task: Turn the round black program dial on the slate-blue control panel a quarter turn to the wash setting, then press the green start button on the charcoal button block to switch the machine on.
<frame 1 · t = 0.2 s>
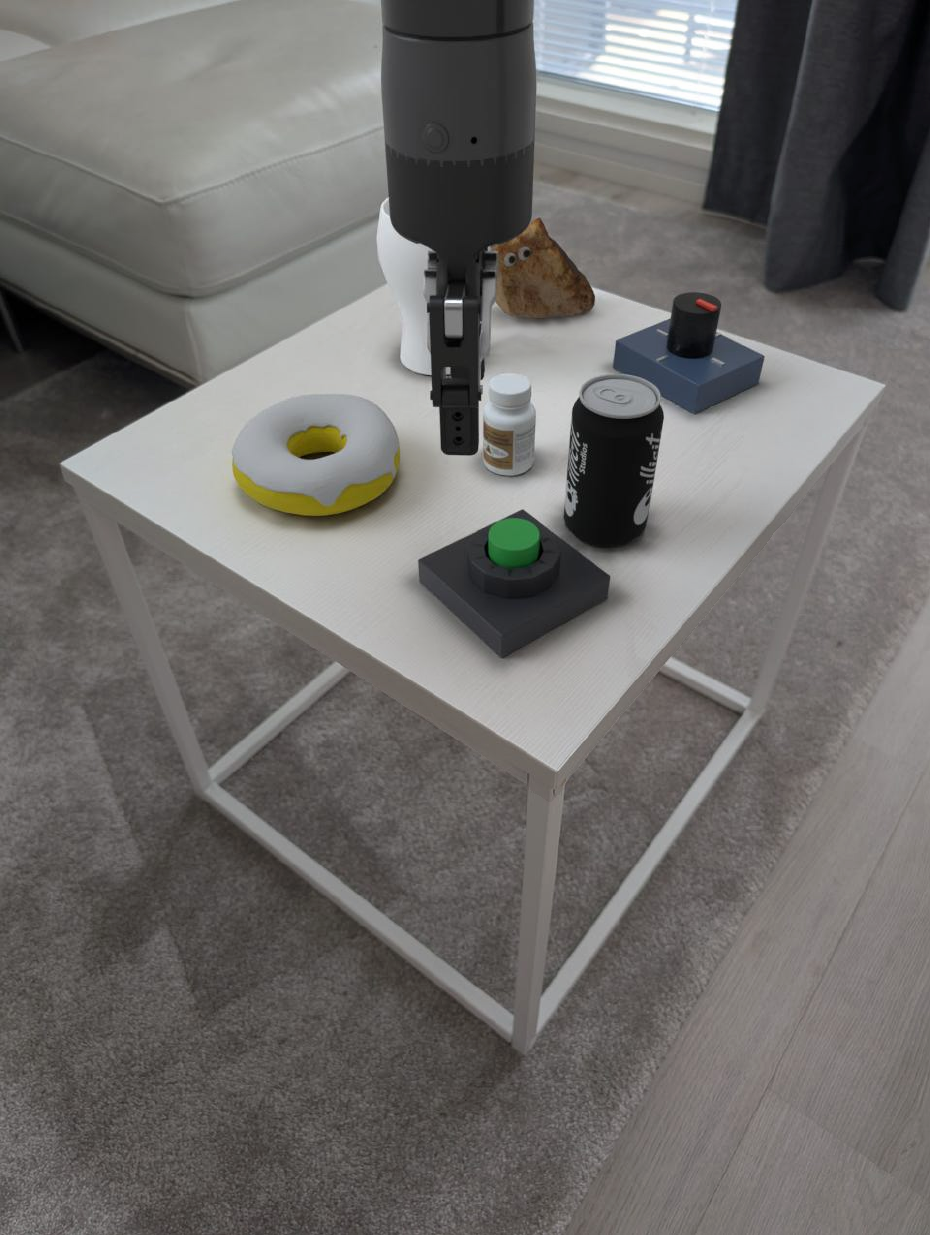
hand: (464, 413, 56), 15 cm above the table, tool pointing down, fingers open, 8 cm apart
control panel: (684, 375, 89), on the table
pill bottle: (508, 464, 79), on the table
donut: (323, 479, 78), on the table
button block: (512, 589, 67), on the table
cup: (438, 359, 93), on the table
decorative rock: (537, 316, 99), on the table
start button: (513, 543, 64), point 4 cm above the table, slide at 0.1 cm
beverage can: (603, 528, 73), on the table
program dial: (693, 323, 86), point 5 cm above the table, hinge at 0.0°
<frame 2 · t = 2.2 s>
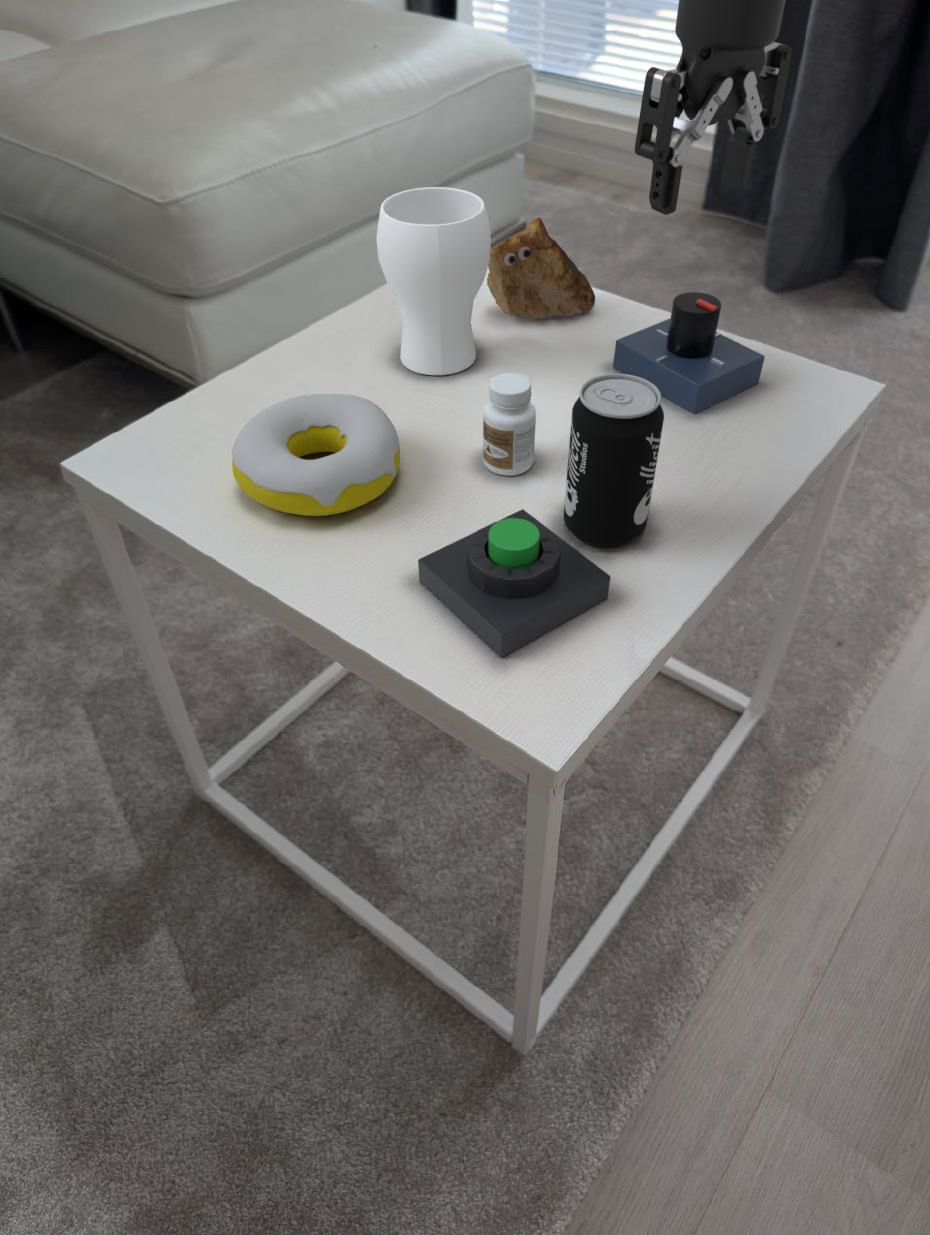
hand: (698, 199, 76), 18 cm above the table, tool pointing down, fingers open, 8 cm apart
nothing on the table moved.
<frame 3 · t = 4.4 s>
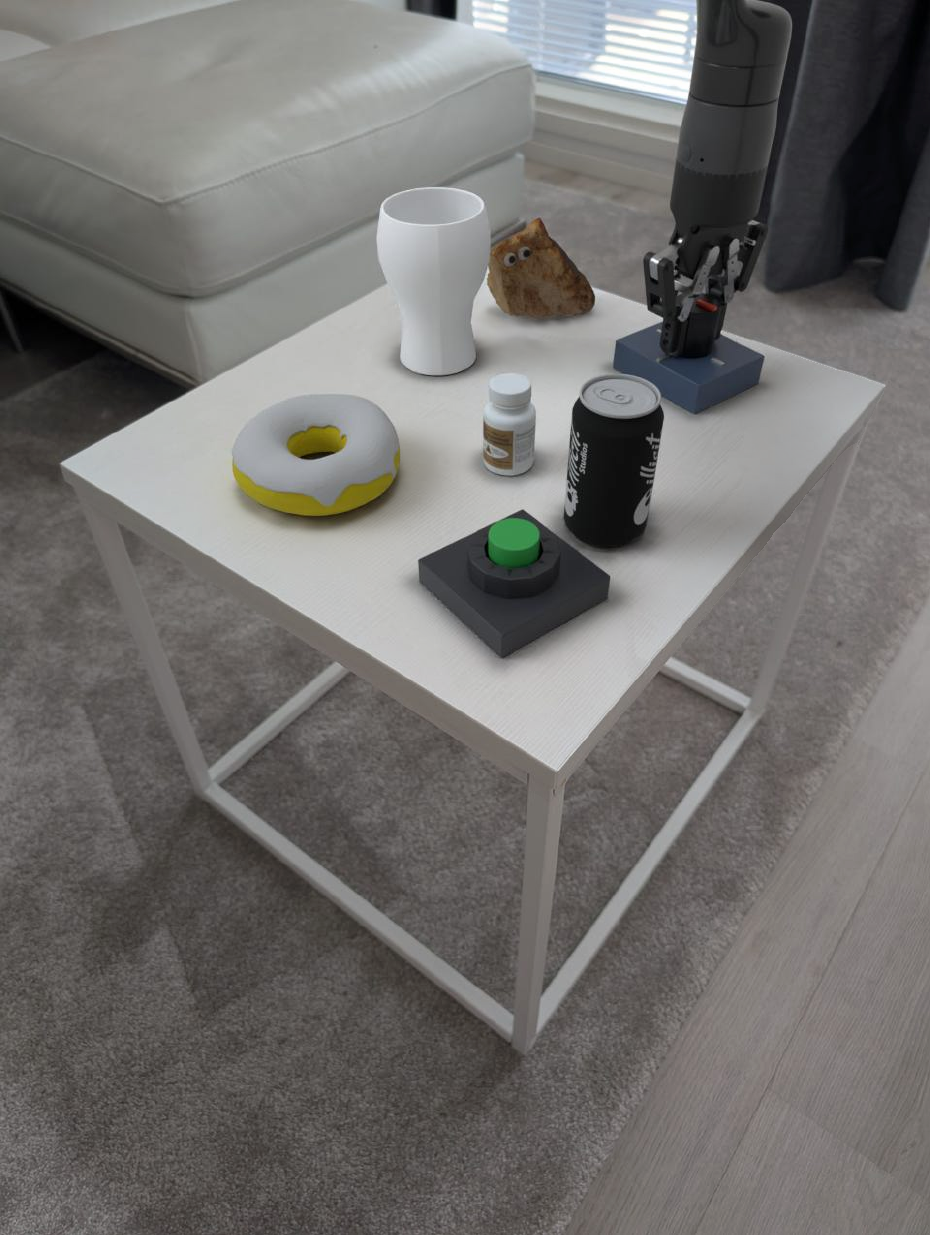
hand: (690, 344, 87), 3 cm above the table, tool pointing down, fingers closed on program dial, 4 cm apart
program dial: (693, 323, 86), point 5 cm above the table, hinge at 0.1°, touching gripper
everything else where it was.
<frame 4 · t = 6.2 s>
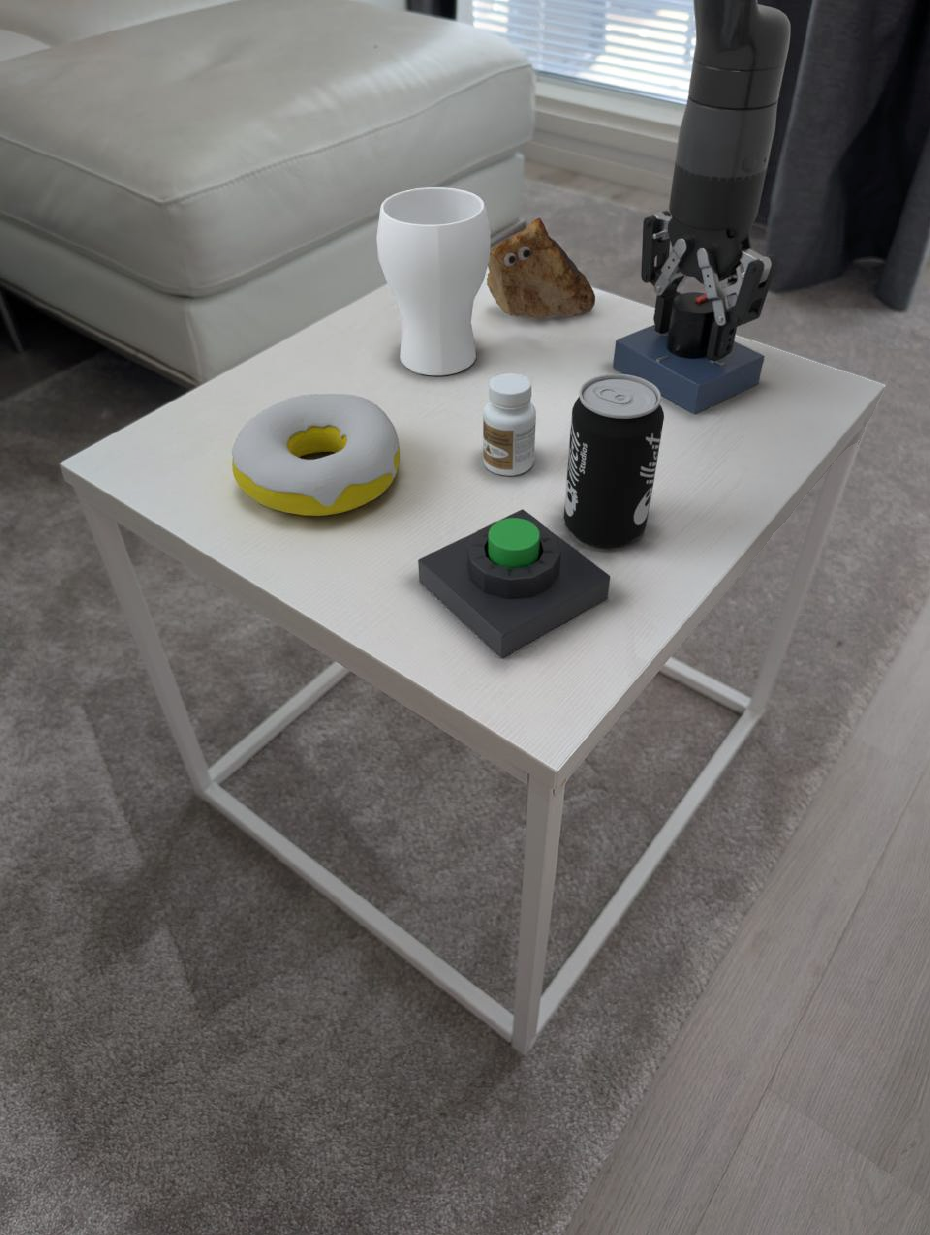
hand: (689, 343, 87), 3 cm above the table, tool pointing down, fingers open, 6 cm apart
program dial: (693, 323, 86), point 5 cm above the table, hinge at 93.8°
everything else where it was.
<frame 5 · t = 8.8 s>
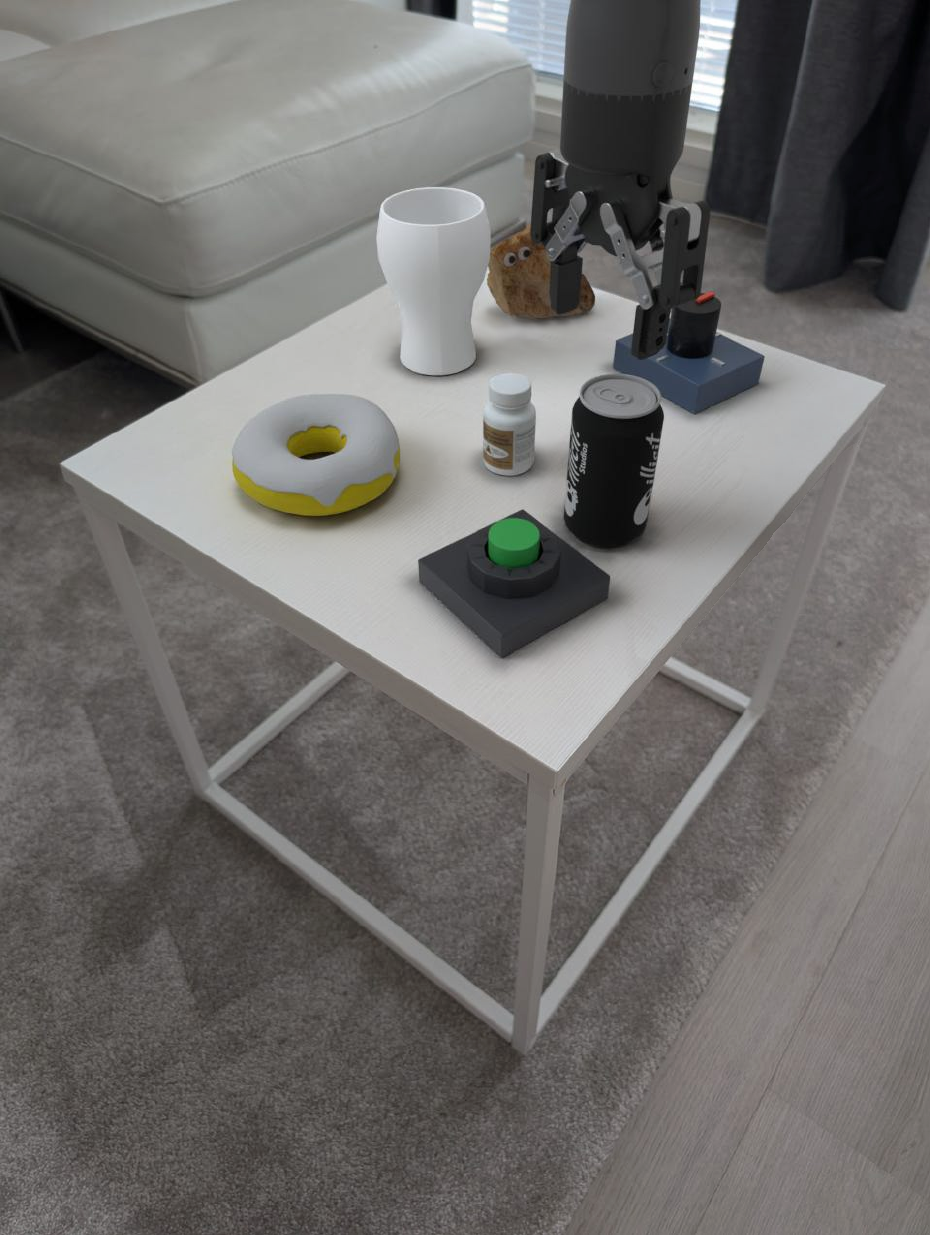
hand: (603, 331, 64), 15 cm above the table, tool pointing down, fingers open, 8 cm apart
nothing on the table moved.
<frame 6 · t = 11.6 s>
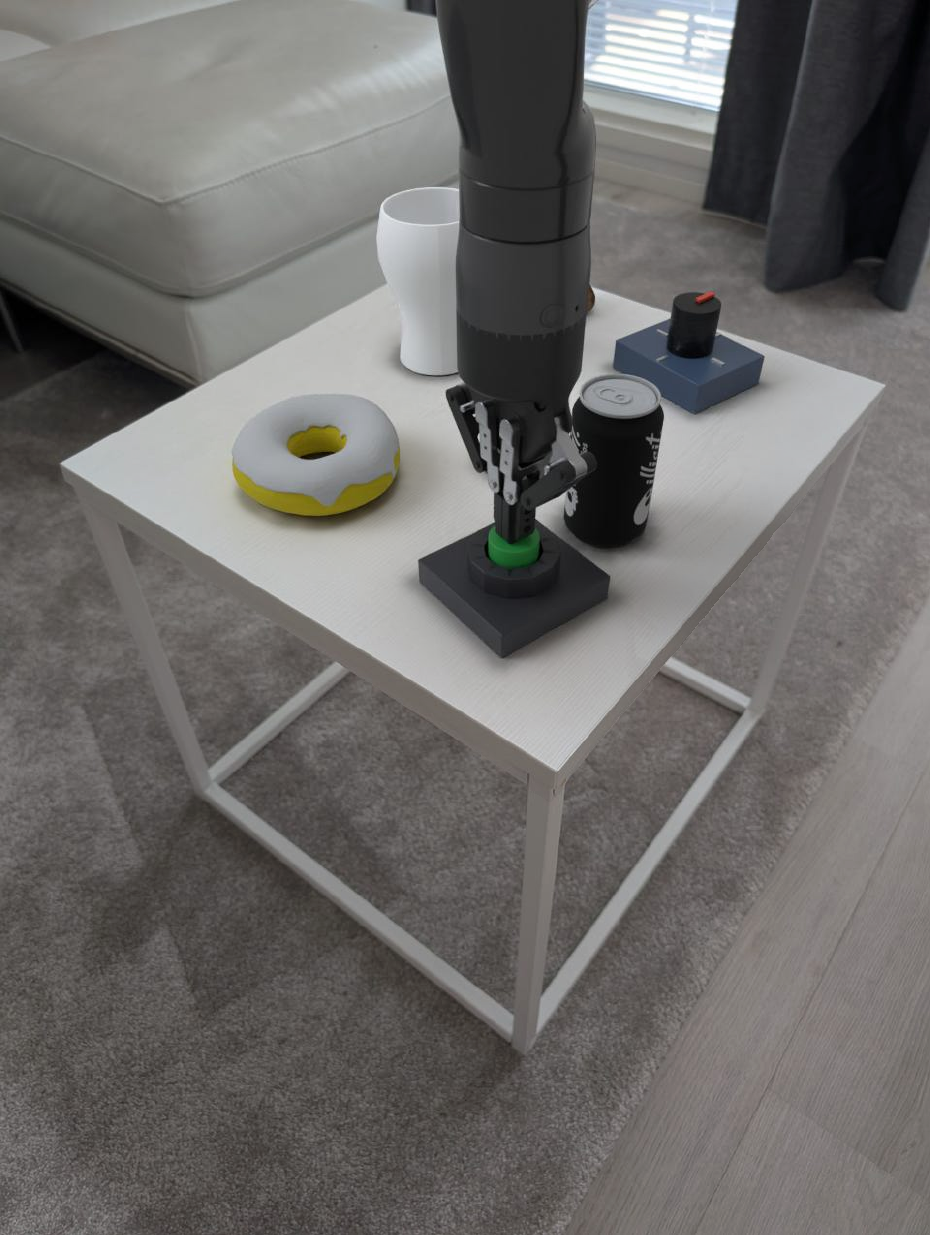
hand: (513, 534, 64), 5 cm above the table, tool pointing down, fingers closed
start button: (513, 545, 64), point 4 cm above the table, slide at -0.1 cm, touching gripper
everything else where it was.
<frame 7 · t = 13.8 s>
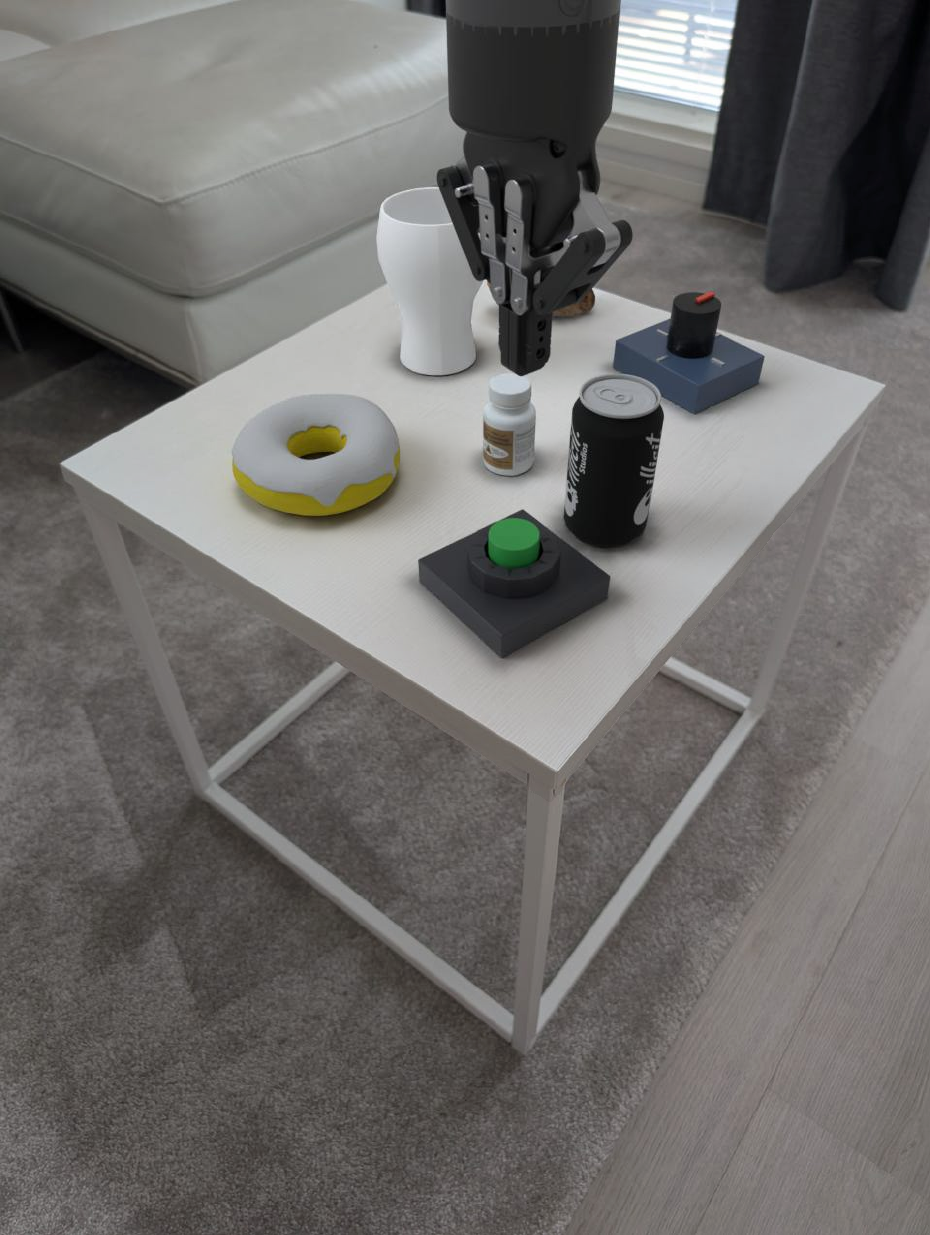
hand: (523, 366, 51), 20 cm above the table, tool pointing down, fingers closed
start button: (513, 543, 64), point 4 cm above the table, slide at 0.1 cm
everything else where it was.
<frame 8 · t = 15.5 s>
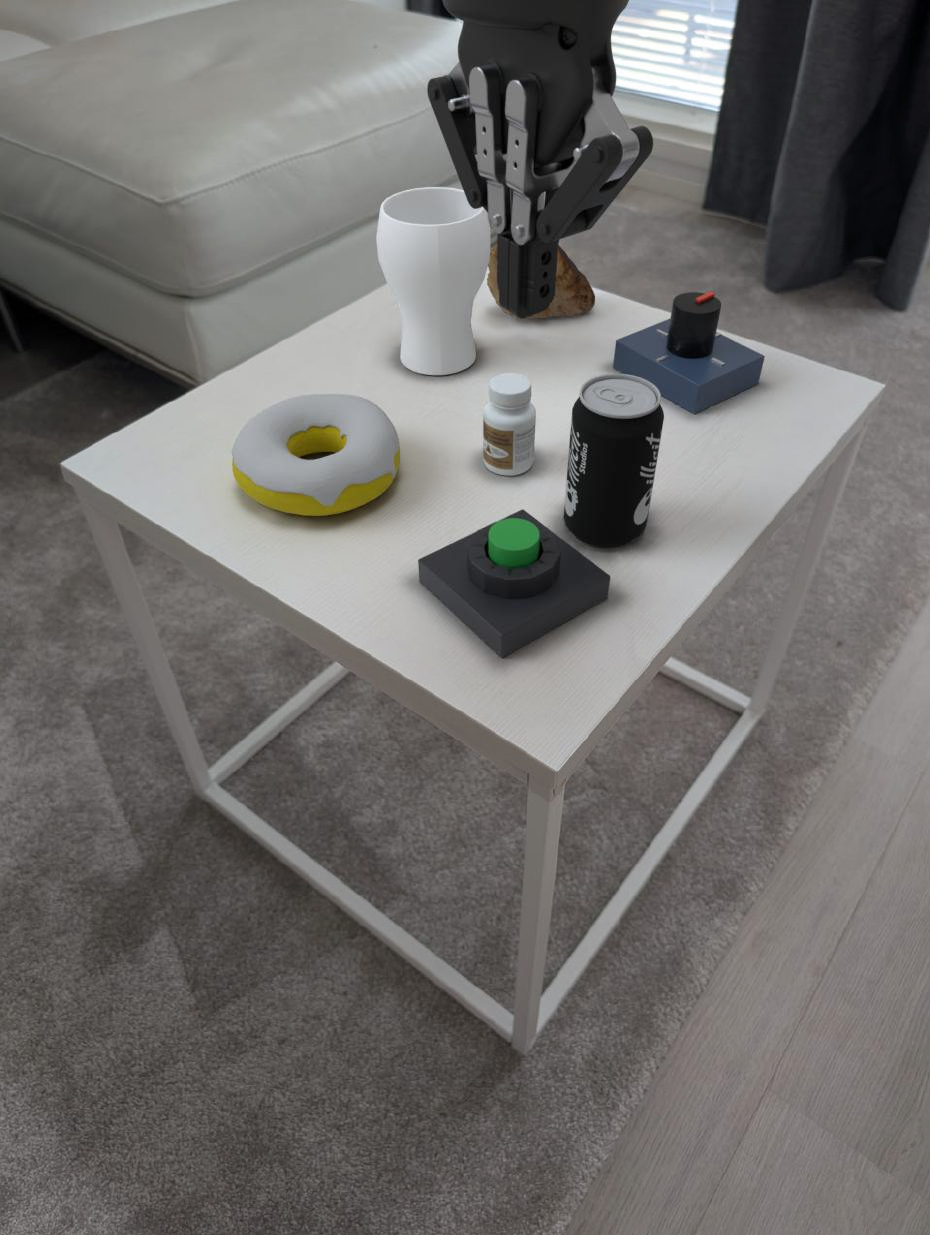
hand: (524, 308, 45), 25 cm above the table, tool pointing down, fingers closed
nothing on the table moved.
at the end: program dial at +94° (first picture: +0°); start button pushed in 1.1 cm at the most during the clip, back to where it started at the end; start button slide at 0.1 cm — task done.
